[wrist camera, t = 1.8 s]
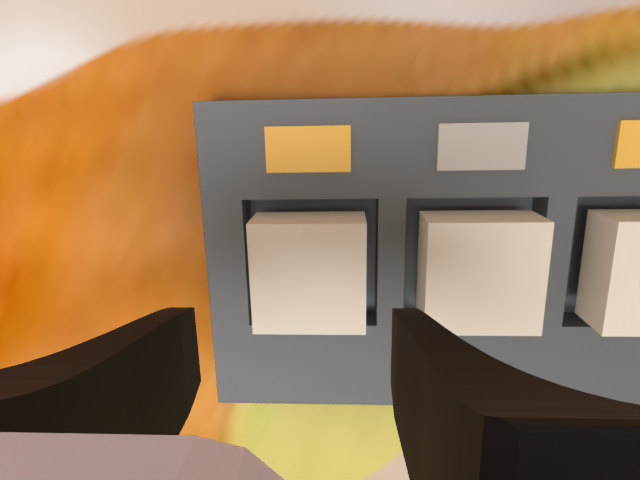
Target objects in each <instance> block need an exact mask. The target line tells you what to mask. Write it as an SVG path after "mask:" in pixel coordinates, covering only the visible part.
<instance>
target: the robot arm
mask: <svg viewBox="0 0 640 480" xmlns="http://www.w3.org/2000/svg"><path fill="white" fill-rule="evenodd" d="M200 382H201V376H200V365H199V355H198V344H197V334H196V323H195V313H194V308H166V309H162V310H159V311H157V312H154V313H151V314H149V315H147V316H144V317H142V318H140V319H137V320H135V321H133V322H130V323H128V324H126V325H124V326H121V327H119V328H117V329H115V330H112V331H110V332H108V333H105V334H103V335H100V336H98V337H95V338H93V339H90V340H88V341H86V342H83V343H81V344H78V345H76V346H73V347H71V348H68V349H65V350H63V351H60V352H57V353H54V354H51V355H48V356H45V357H42V358H39V359H35V360H32V361H29V362H26V363H22V364H19V365H15V366H11V367H7V368H3V369H0V480H284V479H283V478H282V477H280V476H279V475H278V474H277V473H276V472H274V471H273V470H272V469H271V468H270V467H268V466H267V465H266V464H265V463H263V462H262V461H261V460H260V459H259V458H257V457H256V456H255V455H254V454H253V453H251V452H250V451H249V450H248V449H247V448H244V447H240V446H236V445H232V444H228V443H224V442H220V441H216V440H211V439H207V438H203V437H199V436H189V435H179V433H180V431H181V429H182V427H183V426H184V424H185V422H186V420H187V418H188V416H189V414H190V411H191V408H192V405H193V403H194V400H195V397H196V394H197V391H198V388H199V385H200ZM391 391H392V401H393V409H394V417H395V422H396V426H397V430H398V434H399V438H400V442H401V446H402V450H403V454H404V458H405V462H406V466H407V470H408V474H409V478H410V480H640V405H639V404H633V403H628V402H622V401H618V400H614V399H610V398H606V397H602V396H598V395H594V394H590V393H586V392H582V391H579V390H576V389H572V388H569V387H565V386H562V385H559V384H556V383H554V382H551V381H548V380H545V379H542V378H539V377H537V376H534V375H531V374H529V373H526V372H524V371H521V370H519V369H517V368H515V367H513V366H510V365H508V364H506V363H504V362H502V361H500V360H498V359H496V358H494V357H492V356H490V355H488V354H486V353H484V352H483V351H481V350H479V349H477V348H476V347H474V346H472V345H471V344H469V343H467V342H466V341H464V340H463V339H461V338H460V337H458V336H457V335H455V334H454V333H452V332H451V331H449V330H448V329H446V328H445V327H444V326H442V325H441V324H440V323H438V322H437V321H435V320H434V319H433V318H431V317H430V316H429V315H427V314H426V313H424V312H423V311H421V310H420V309H418V308H392V342H391Z"/></svg>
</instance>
